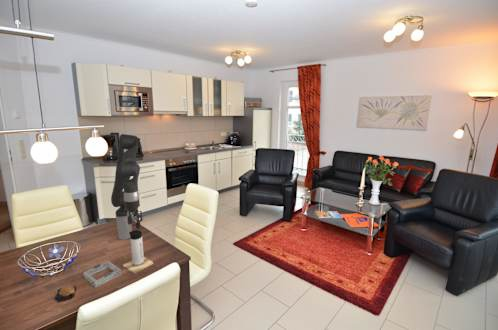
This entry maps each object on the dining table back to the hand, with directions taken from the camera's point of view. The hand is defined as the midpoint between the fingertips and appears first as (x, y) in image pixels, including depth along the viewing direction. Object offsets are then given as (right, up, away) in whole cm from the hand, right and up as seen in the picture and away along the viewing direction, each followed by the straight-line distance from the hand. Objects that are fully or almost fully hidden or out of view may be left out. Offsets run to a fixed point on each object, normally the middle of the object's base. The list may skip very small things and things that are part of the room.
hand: (134, 226), depth 143 cm
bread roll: (-25, -30, -18) cm, 43 cm away
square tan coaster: (0, -24, +6) cm, 25 cm away
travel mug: (0, -23, +6) cm, 24 cm away
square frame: (-15, -26, -4) cm, 31 cm away
